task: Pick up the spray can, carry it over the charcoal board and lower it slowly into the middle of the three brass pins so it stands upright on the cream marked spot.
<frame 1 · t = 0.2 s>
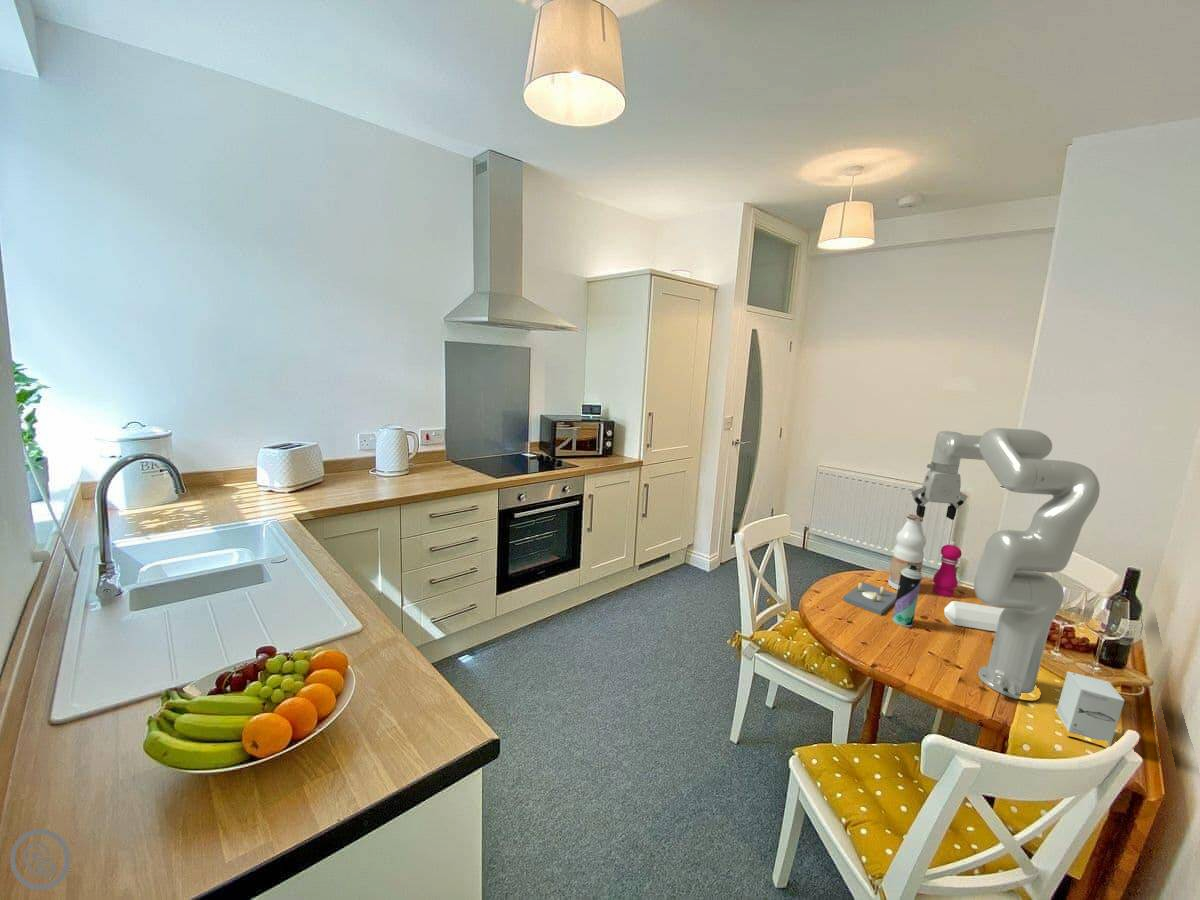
hand: (934, 517, 161), 31 cm above the table, tool pointing down, fingers open, 9 cm apart
supplement box: (1080, 733, 108), on the table
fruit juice: (902, 587, 176), on the table
white long bar: (985, 627, 152), on the table
pepper mill: (942, 593, 174), on the table
spray can: (902, 623, 152), on the table
pin board: (871, 599, 166), on the table
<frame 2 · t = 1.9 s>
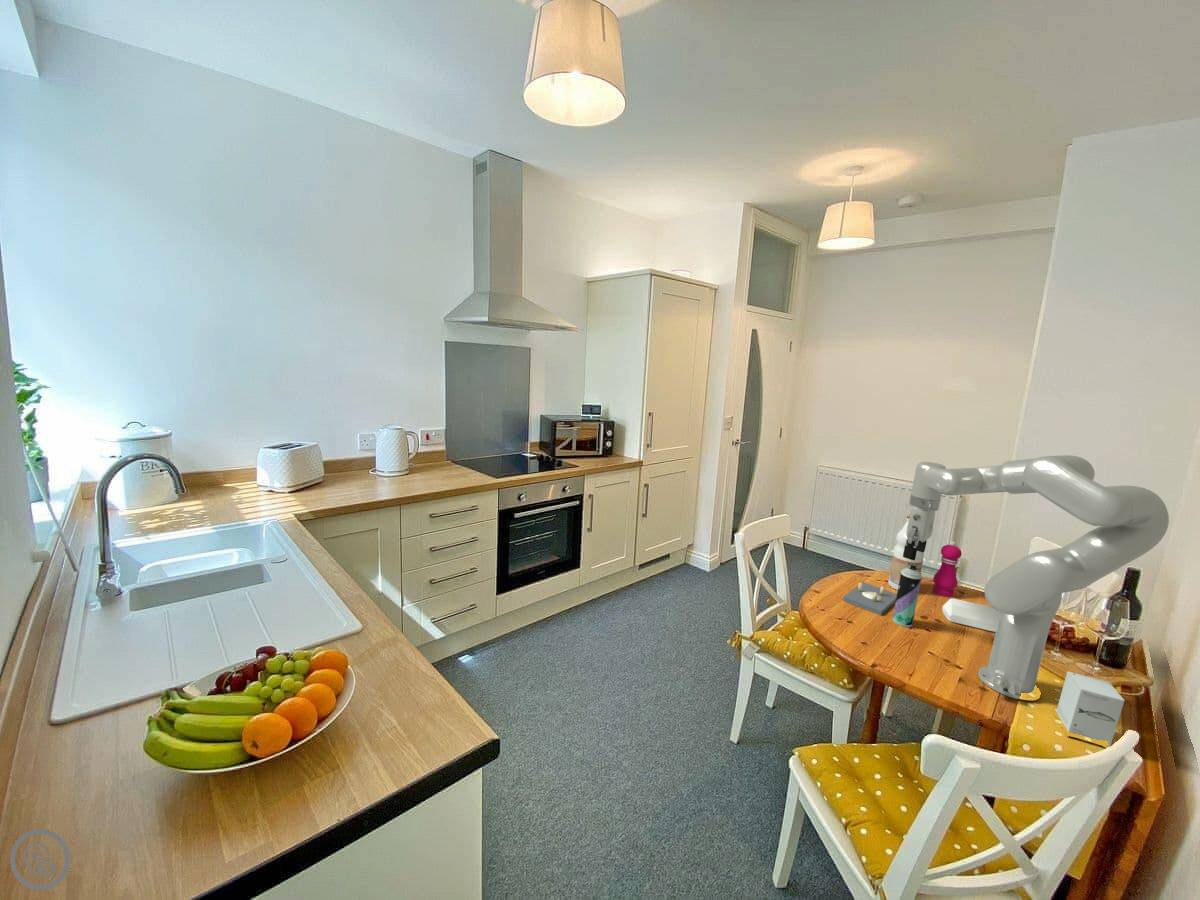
hand: (913, 554, 148), 23 cm above the table, tool pointing down, fingers open, 9 cm apart
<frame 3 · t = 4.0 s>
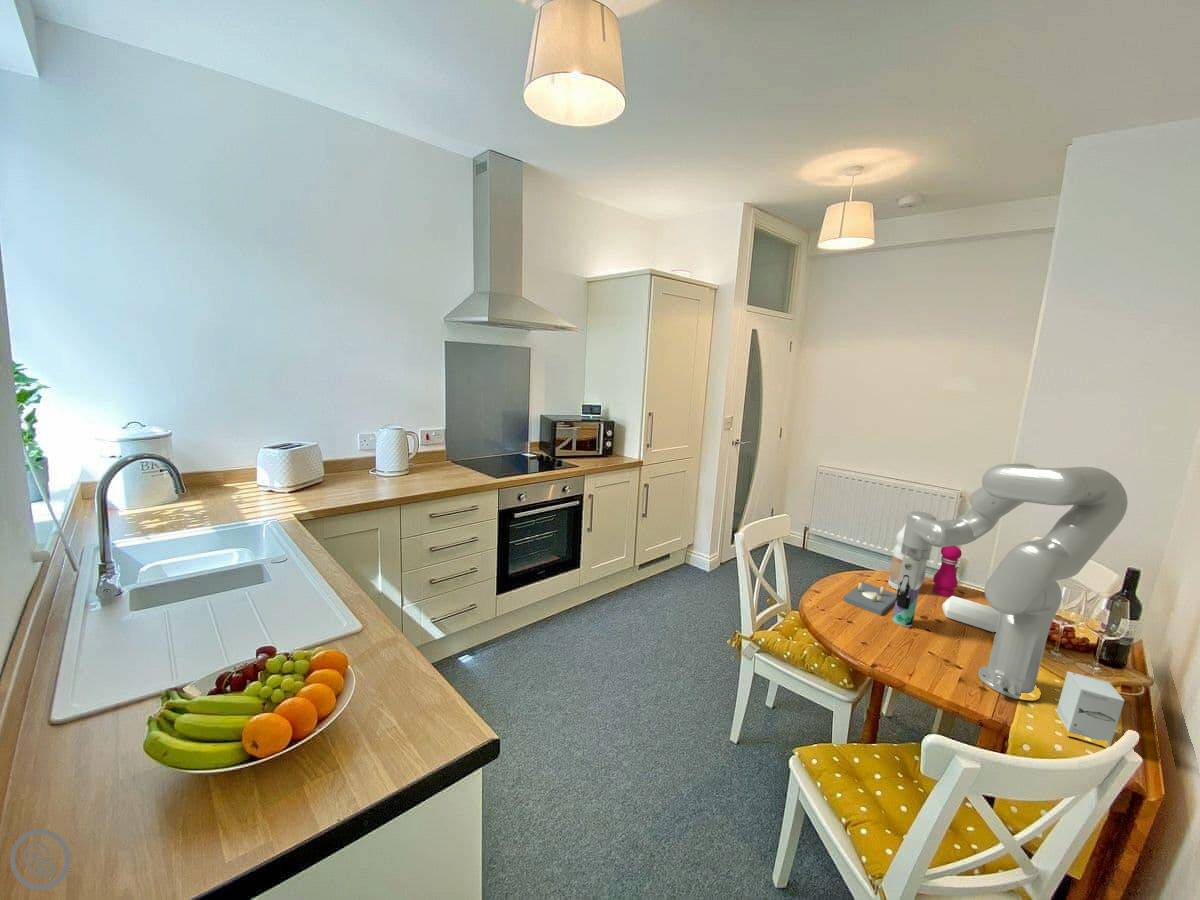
hand: (905, 603, 151), 7 cm above the table, tool pointing down, fingers closed on spray can, 5 cm apart
spray can: (902, 622, 152), on the table, touching gripper
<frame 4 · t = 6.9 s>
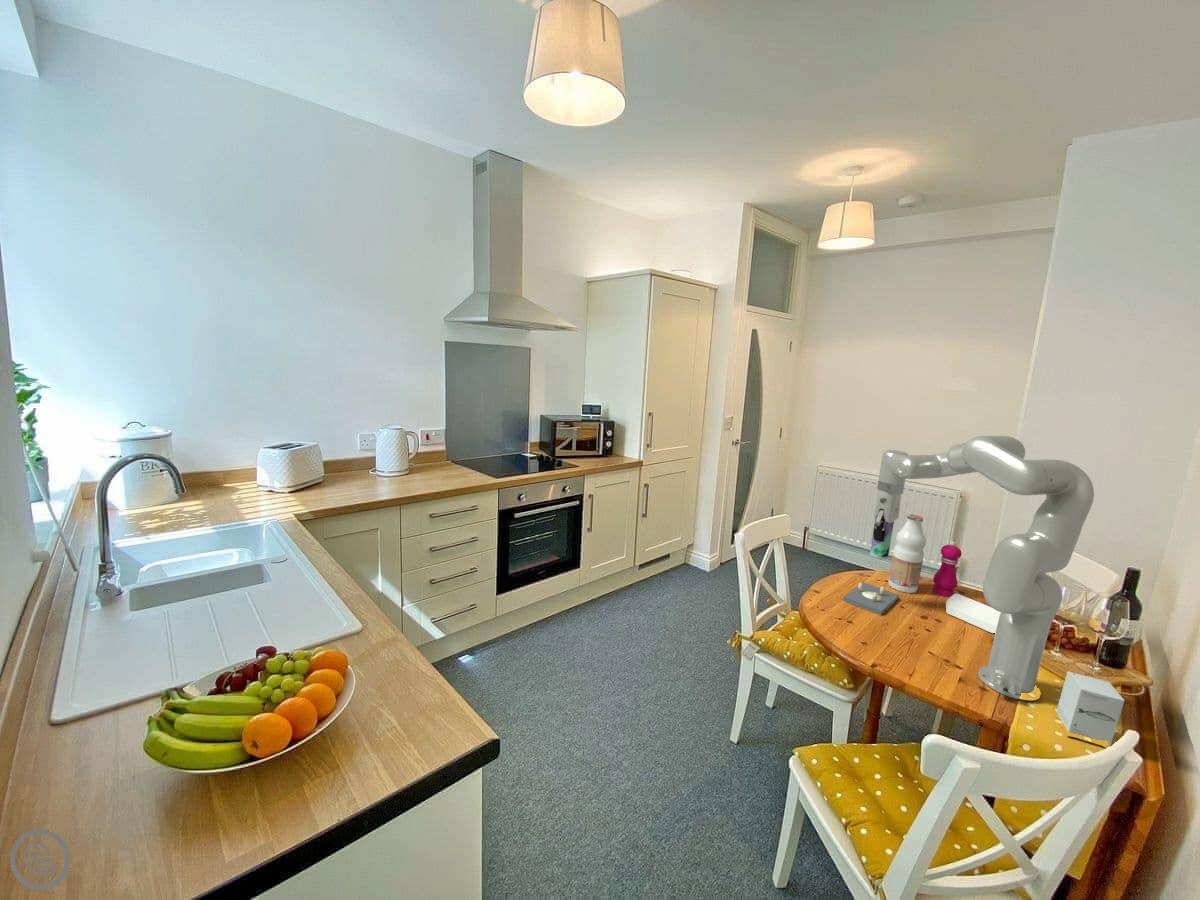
hand: (881, 537, 161), 23 cm above the table, tool pointing down, fingers closed on spray can, 5 cm apart
spray can: (878, 556, 163), point 16 cm above the table, touching gripper
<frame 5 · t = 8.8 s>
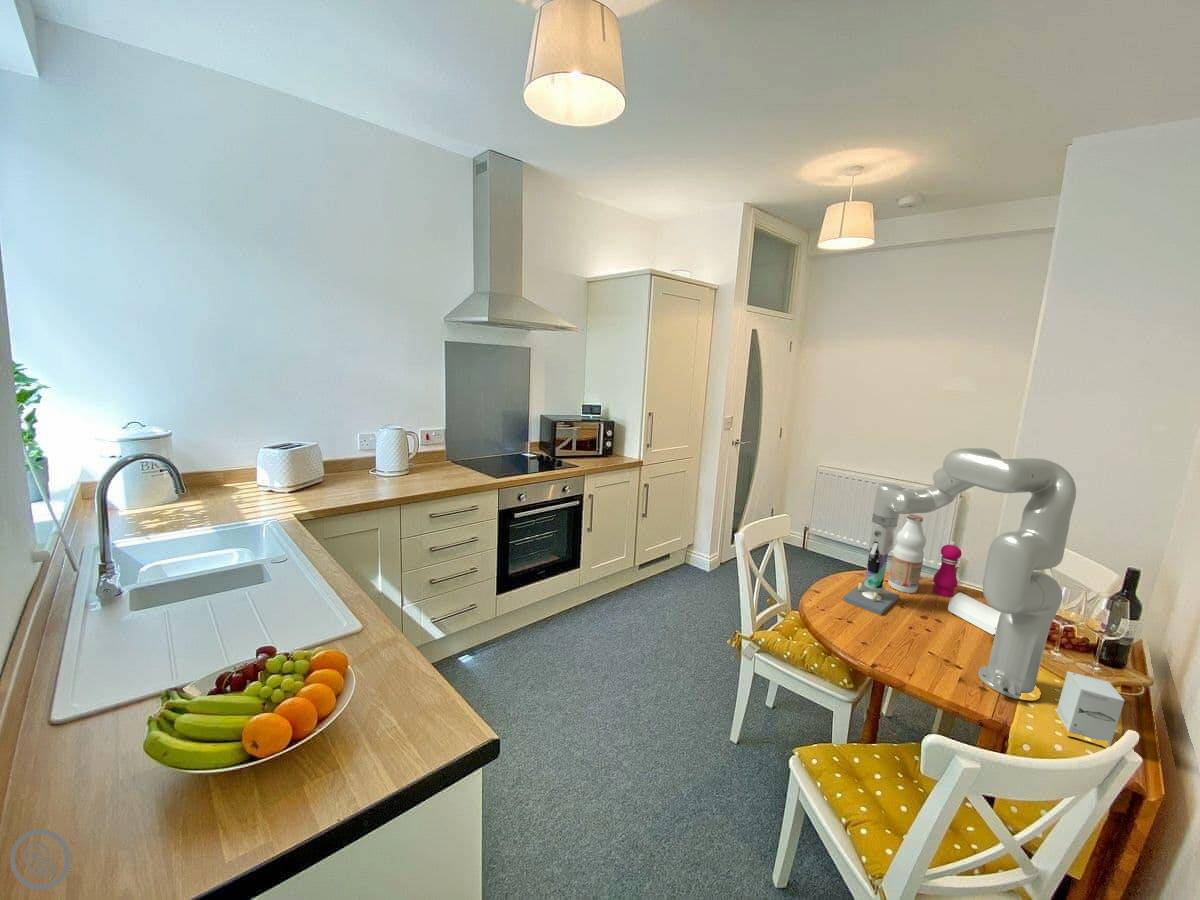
hand: (876, 569, 164), 12 cm above the table, tool pointing down, fingers closed on spray can, 5 cm apart
spray can: (873, 586, 165), point 5 cm above the table, touching gripper
when the fingers open (9 cm above the table, at t = 10.2 s): spray can drops 1 cm, resting on pin board.
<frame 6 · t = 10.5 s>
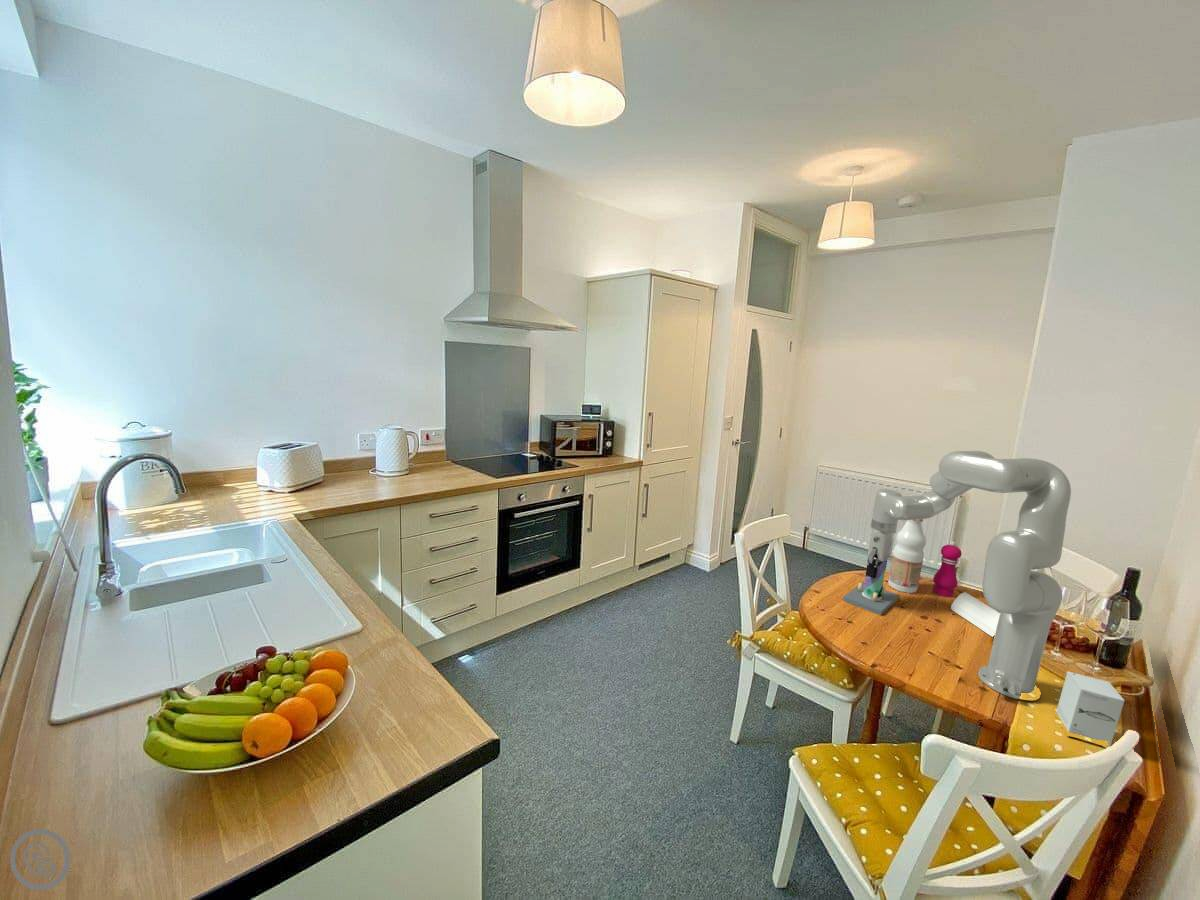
hand: (875, 573, 164), 10 cm above the table, tool pointing down, fingers open, 8 cm apart
spray can: (871, 595, 165), point 2 cm above the table, touching pin board
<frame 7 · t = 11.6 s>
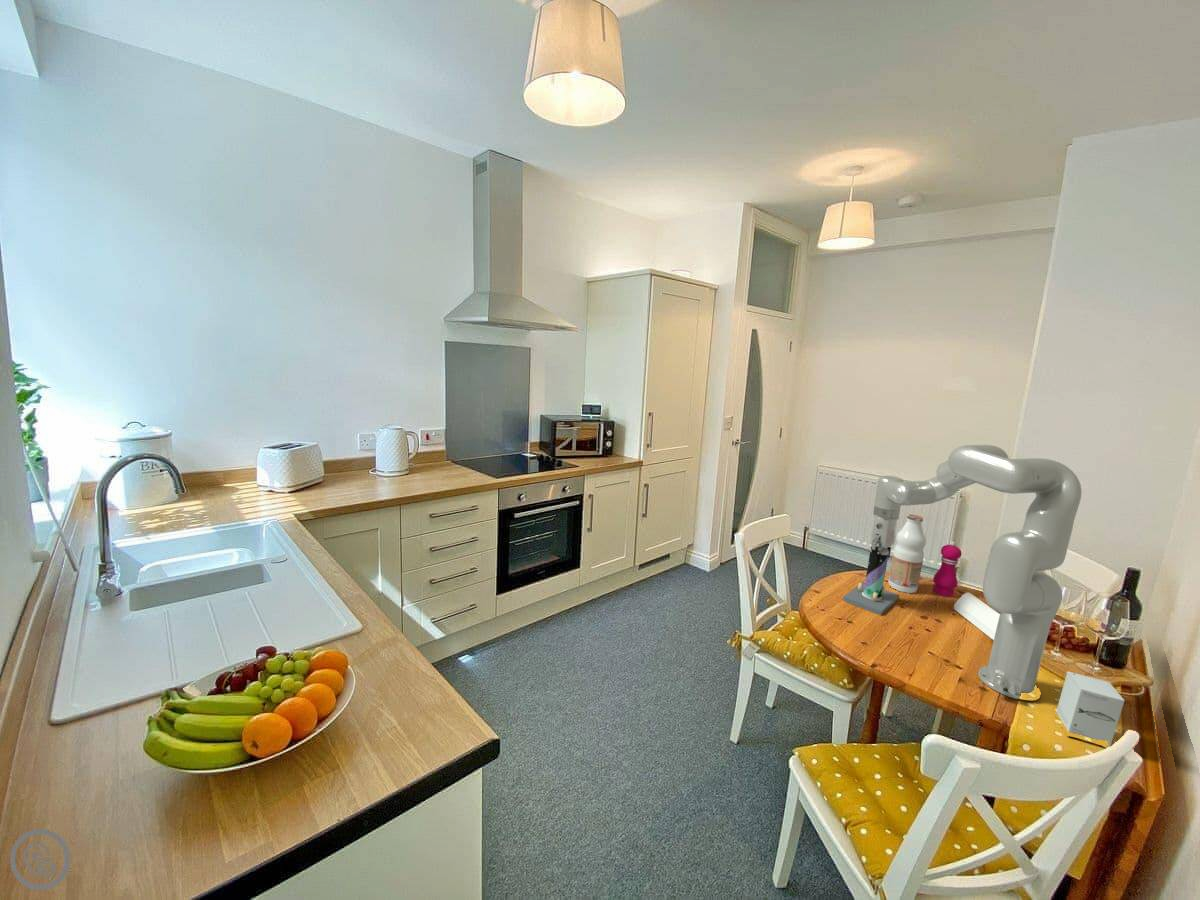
hand: (879, 560, 162), 15 cm above the table, tool pointing down, fingers open, 9 cm apart
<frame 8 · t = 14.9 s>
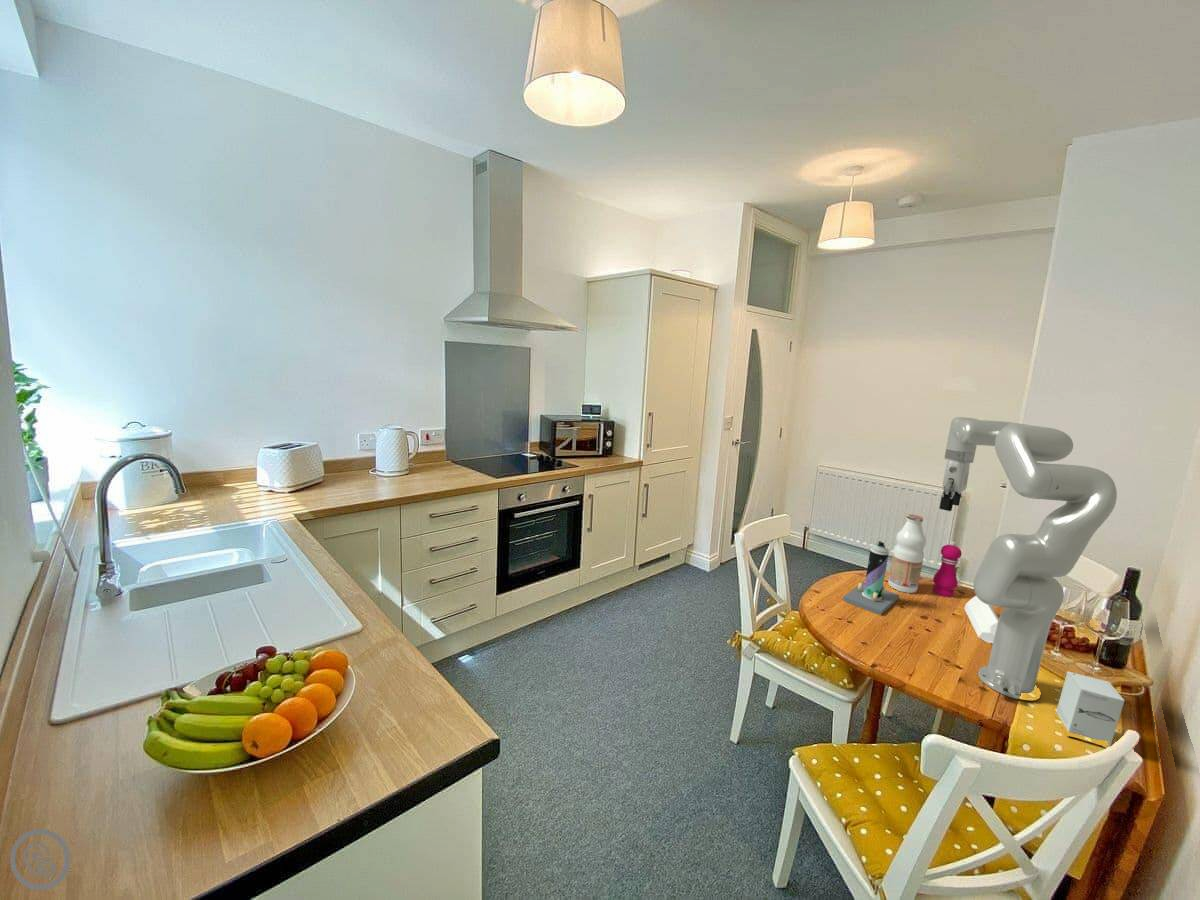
hand: (949, 507, 155), 36 cm above the table, tool pointing down, fingers open, 9 cm apart
at the end: spray can 0.1 cm off-centre on the pin board, point 1.4 cm above the pin board's base; spray can tilted 0°; the gripper is holding nothing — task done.
